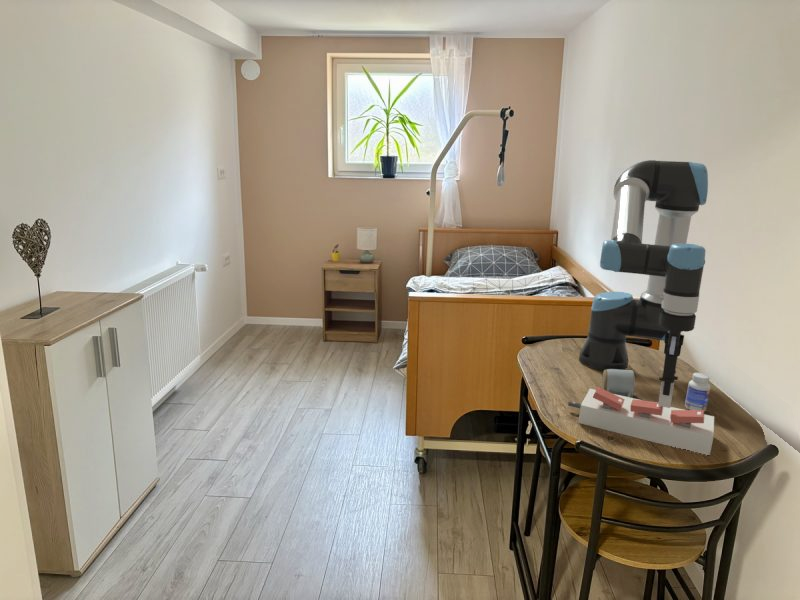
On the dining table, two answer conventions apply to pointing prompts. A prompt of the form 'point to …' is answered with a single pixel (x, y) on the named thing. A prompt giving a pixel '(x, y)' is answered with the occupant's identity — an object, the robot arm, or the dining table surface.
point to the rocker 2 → (646, 407)
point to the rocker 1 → (608, 398)
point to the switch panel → (646, 424)
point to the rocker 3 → (687, 416)
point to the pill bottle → (698, 392)
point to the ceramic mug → (619, 382)
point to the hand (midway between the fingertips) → (664, 405)
